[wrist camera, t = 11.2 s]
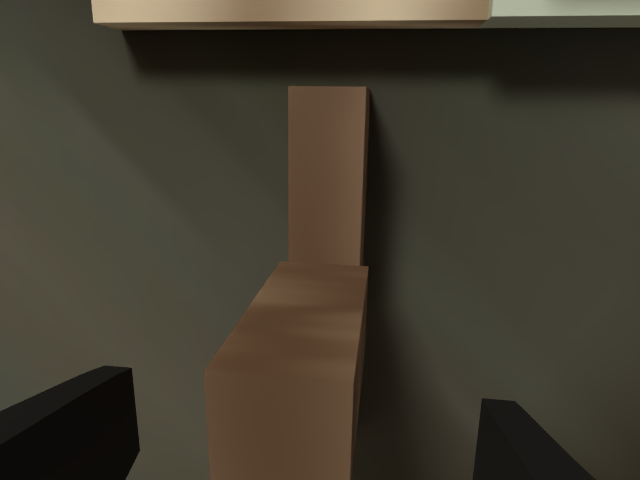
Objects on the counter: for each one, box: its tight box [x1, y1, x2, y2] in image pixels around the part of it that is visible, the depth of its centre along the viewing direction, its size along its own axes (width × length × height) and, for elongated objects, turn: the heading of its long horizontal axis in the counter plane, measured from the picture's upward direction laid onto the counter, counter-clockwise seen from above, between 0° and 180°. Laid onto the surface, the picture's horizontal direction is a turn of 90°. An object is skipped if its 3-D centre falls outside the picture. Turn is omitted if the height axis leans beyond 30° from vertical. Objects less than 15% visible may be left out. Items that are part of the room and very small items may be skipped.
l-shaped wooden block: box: [204, 86, 370, 480], centre depth 13 cm, size 2×12×9 cm, turn 179°
